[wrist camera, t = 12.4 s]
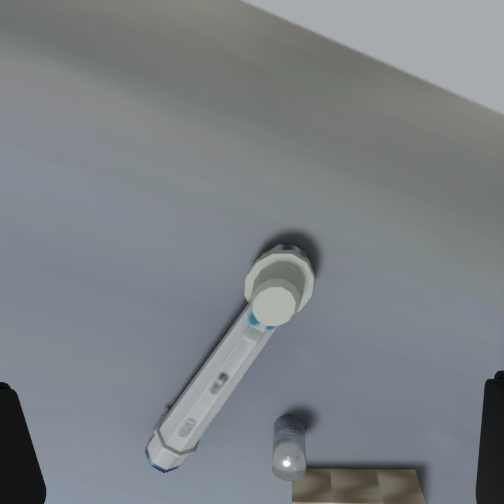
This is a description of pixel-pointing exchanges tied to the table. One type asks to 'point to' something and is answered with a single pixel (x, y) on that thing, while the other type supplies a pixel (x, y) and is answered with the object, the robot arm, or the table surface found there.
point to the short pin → (289, 448)
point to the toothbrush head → (234, 352)
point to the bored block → (358, 487)
